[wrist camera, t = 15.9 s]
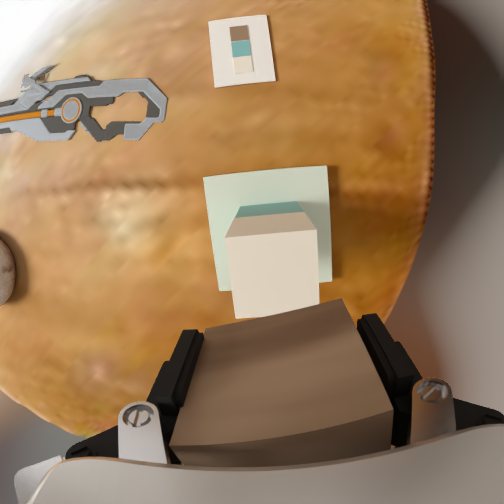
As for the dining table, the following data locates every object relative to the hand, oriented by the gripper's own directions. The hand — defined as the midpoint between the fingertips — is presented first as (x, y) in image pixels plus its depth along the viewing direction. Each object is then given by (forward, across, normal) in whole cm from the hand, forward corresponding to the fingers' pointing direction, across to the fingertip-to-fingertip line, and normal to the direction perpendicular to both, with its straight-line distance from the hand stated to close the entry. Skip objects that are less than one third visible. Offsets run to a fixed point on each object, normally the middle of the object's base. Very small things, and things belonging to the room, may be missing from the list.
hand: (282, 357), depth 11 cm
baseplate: (+21, 0, 0) cm, 21 cm away
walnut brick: (+1, 0, +1) cm, 1 cm away
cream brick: (+14, 0, 0) cm, 14 cm away
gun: (+22, +28, -20) cm, 41 cm away
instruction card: (+21, +1, -19) cm, 28 cm away
